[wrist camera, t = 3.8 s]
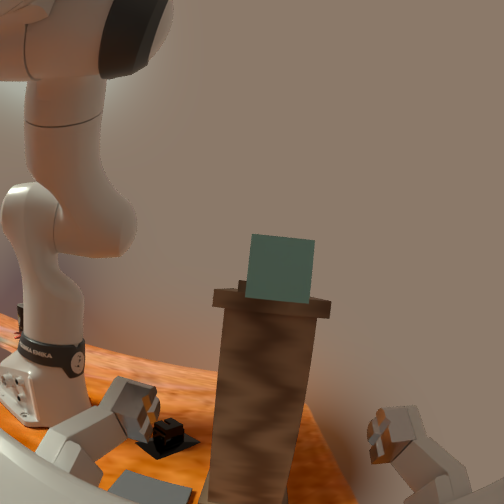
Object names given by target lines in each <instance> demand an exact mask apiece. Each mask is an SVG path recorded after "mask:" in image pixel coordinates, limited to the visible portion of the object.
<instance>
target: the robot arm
mask: <svg viewBox="0 0 504 504" xmlns="http://www.w3.org/2000/svg"><path fill="white" fill-rule="evenodd" d="M173 10H174V8H173V0H0V81H27V87H26V95H25V104H24V140H25V157H26V165H27V168H28V170H29V172H30V174H31V175H32V177H33V178H34V179H35V180H36V181H37V182H32V183H24V184H17V185H14V186H13V187H12V188H11V189H10V190H9V191H8V193H7V195H6V196H5V198H4V200H3V203H2V206H1V212H0V220H1V226H2V229H3V232H4V234H5V236H6V237H7V239H8V240H9V241H10V243H11V245H12V247H13V249H14V251H15V253H16V256H17V259H18V262H19V266H20V270H21V274H22V281H23V325H24V330H23V331H22V332H16V333H14V334H19V336H16V337H14V338H15V339H19V338H20V340H19V344H18V348H17V350H16V351H15V352H14V353H12V354H11V355H10V356H8V357H7V358H6V359H4V360H3V361H2V362H1V364H0V402H1V403H2V404H3V405H4V406H5V407H6V408H7V409H8V410H9V411H10V412H11V413H12V414H13V415H14V416H15V417H16V418H17V419H18V420H19V421H20V422H21V423H22V424H23V425H25V426H27V427H50V428H49V430H48V431H47V433H46V435H45V436H44V438H43V440H42V441H41V443H40V445H39V446H38V448H37V450H36V451H35V453H34V452H33V451H31V450H30V449H28V448H27V447H25V446H24V445H22V444H21V443H20V442H18V441H17V440H15V439H14V438H13V437H11V436H10V435H9V434H7V433H6V432H5V431H3V430H2V429H1V428H0V504H139V503H136V502H133V501H131V500H128V499H125V498H122V497H120V496H117V495H115V494H112V493H110V492H108V491H105V490H103V489H101V488H98V486H99V483H100V481H101V478H102V476H103V472H102V470H101V469H100V468H99V467H98V466H97V465H96V464H95V463H94V462H95V461H97V460H98V459H100V458H101V457H103V456H104V455H105V454H107V453H108V452H110V451H111V450H113V449H114V448H115V447H117V446H118V445H119V444H121V443H122V442H124V441H125V440H126V439H127V438H130V439H134V440H137V441H141V442H144V443H148V442H149V439H150V437H151V434H152V432H153V429H152V426H151V424H153V423H154V422H156V421H157V419H158V416H159V412H160V401H159V399H158V398H157V397H156V394H157V390H156V387H155V386H151V385H147V384H144V383H140V382H137V381H133V380H130V379H127V378H123V377H120V376H117V377H116V378H115V379H114V380H113V382H112V384H111V385H110V387H109V389H108V391H107V392H106V394H105V396H104V397H103V399H102V401H101V403H100V404H99V406H93V407H92V406H91V403H90V400H89V397H88V393H87V388H86V383H85V377H84V366H85V340H84V339H83V318H84V296H83V293H82V291H81V289H80V288H79V286H78V285H77V284H76V283H75V282H74V281H73V280H71V279H70V278H69V277H68V276H66V275H65V274H64V273H63V272H61V270H60V268H59V265H58V253H66V254H71V255H77V256H83V257H89V258H112V257H120V256H122V255H123V254H124V253H125V252H126V251H127V250H128V249H129V248H130V246H131V244H132V243H133V241H134V238H135V235H136V231H137V218H136V213H135V210H134V208H133V206H132V204H131V203H130V201H129V200H128V199H126V198H125V197H124V196H122V195H121V194H120V193H119V192H118V191H117V190H116V189H115V188H114V187H113V185H112V184H111V182H110V181H109V179H108V177H107V176H106V174H105V171H104V169H103V167H102V163H101V159H100V130H101V120H102V113H103V106H104V99H105V91H106V81H107V79H113V78H116V77H122V76H127V75H132V74H133V73H135V72H137V71H138V70H140V69H142V68H144V67H145V66H147V64H148V62H149V60H150V59H151V58H152V57H153V56H154V55H155V53H156V52H157V51H158V50H159V49H160V47H161V46H162V44H163V42H164V41H165V39H166V37H167V35H168V33H169V30H170V28H171V24H172V20H173ZM367 439H368V442H369V443H370V444H371V445H372V447H371V449H370V450H369V451H370V458H371V464H382V463H391V465H392V466H393V467H394V468H395V470H396V471H397V472H398V473H399V474H400V475H401V477H402V478H403V479H404V480H405V482H406V483H407V484H408V485H409V487H410V488H411V489H412V490H413V491H414V494H413V495H411V496H409V497H408V498H406V499H405V501H404V504H504V478H502V479H500V480H498V481H496V482H494V483H492V484H490V485H488V486H486V487H484V488H482V489H479V490H477V491H475V492H473V493H472V490H471V486H470V482H469V478H468V475H467V472H466V468H465V467H464V466H463V465H462V464H461V463H460V462H459V461H457V460H456V459H455V458H454V457H453V456H451V455H450V454H449V453H448V452H447V451H445V450H444V449H443V448H442V447H441V446H440V445H439V444H438V443H437V442H435V441H434V440H433V439H432V438H430V437H429V438H427V435H426V431H425V428H424V425H423V422H422V419H421V416H420V413H419V411H418V408H417V406H415V405H411V406H397V407H387V408H380V409H378V411H377V412H376V417H375V418H374V419H372V420H371V422H370V423H369V425H368V429H367Z"/></svg>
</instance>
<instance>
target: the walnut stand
mask: <svg viewBox="0 0 504 504" xmlns="http://www.w3.org/2000/svg"><path fill="white" fill-rule="evenodd" d="M246 283H247V281H242V280H239V284H238V289H234V288H230V289H214V296H213V305H212V306H213V307H221V308H225V310H224V319H223V329H222V338H221V348H220V358H219V368H218V378H217V389H216V400H215V411H214V423H213V434H212V447H211V460H210V469H209V472H208V475H207V478H206V480H205V483H204V486H203V489H202V492H201V495H200V498H199V501H198V504H288V497H287V485H286V484H287V480H288V476H289V472H290V468H291V464H292V459H293V455H294V451H295V446H296V441H297V437H298V432H299V427H300V422H301V417H302V412H303V406H304V400H305V394H306V389H307V383H308V377H309V371H310V365H311V358H312V351H313V344H314V337H315V329H316V321H317V318H327V319H329V317H330V309H331V301H328V300H323V299H318V298H314V297H309V304H306V303H295V302H285V301H275V300H266V299H256V298H248V297H245V292H246Z"/></svg>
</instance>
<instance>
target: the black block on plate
mask: <svg viewBox="0 0 504 504" xmlns="http://www.w3.org/2000/svg"><path fill="white" fill-rule="evenodd" d="M166 423H167V424H166ZM135 443H136V444H137V445H138V446H139V447H141V448H142V449H143V450H144V451H146V452H147V453H148V454H150V455H151V456H152V457H154V458H155V459H156V460H158V459H161V458H164V457H166V456H169V455H171V454H174V453H177V452H179V451H182V450H184V449H186V448H189V447H191V446H194V445H196V444H198V443H200V442H199V441H198V440H196V439H194V438H192V437H190V436H189V435H187V434H185V433H184V428H183V424H181V423H179V422H178V421H176V420H174V419H173V418H168V419H165V420H164V422H163V421H162V420H161V421H158V422H154V427H153V438H150V439H149V442H148V443H144V442H141V441H139V442H135Z"/></svg>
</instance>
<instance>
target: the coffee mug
mask: <svg viewBox="0 0 504 504" xmlns="http://www.w3.org/2000/svg"><path fill="white" fill-rule="evenodd" d="M17 310H18V323H19V332H22V331H23V330H24V325H23V304H18V305H17Z"/></svg>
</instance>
